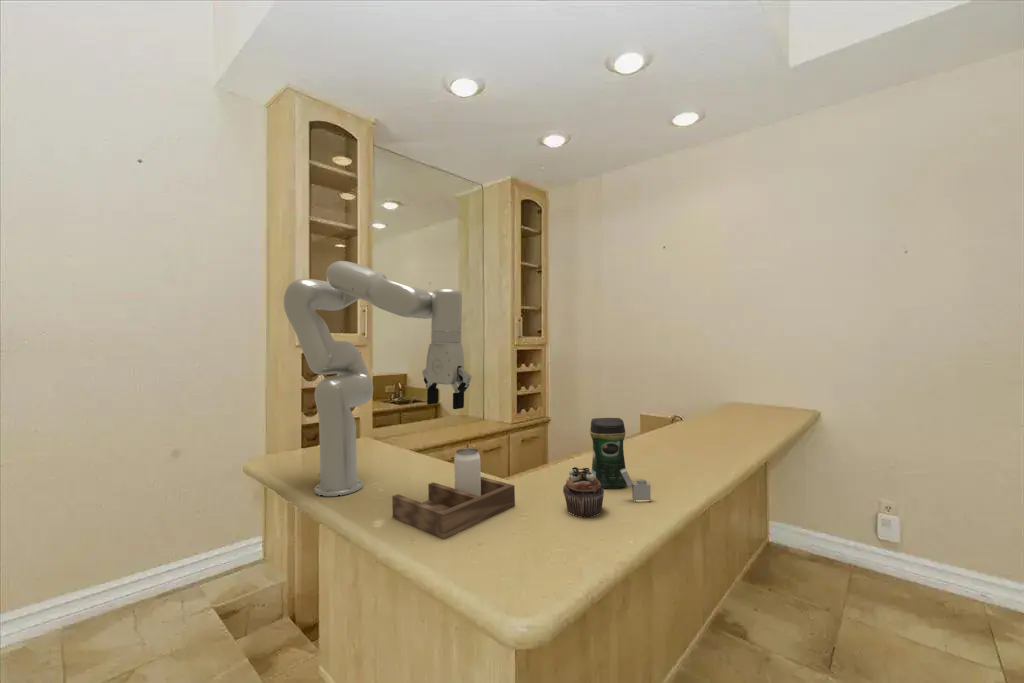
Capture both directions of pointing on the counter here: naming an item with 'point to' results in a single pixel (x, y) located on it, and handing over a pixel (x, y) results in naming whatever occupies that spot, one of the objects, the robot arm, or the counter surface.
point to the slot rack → (454, 507)
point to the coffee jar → (608, 451)
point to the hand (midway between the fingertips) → (445, 406)
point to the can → (468, 471)
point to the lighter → (637, 487)
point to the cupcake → (583, 493)
